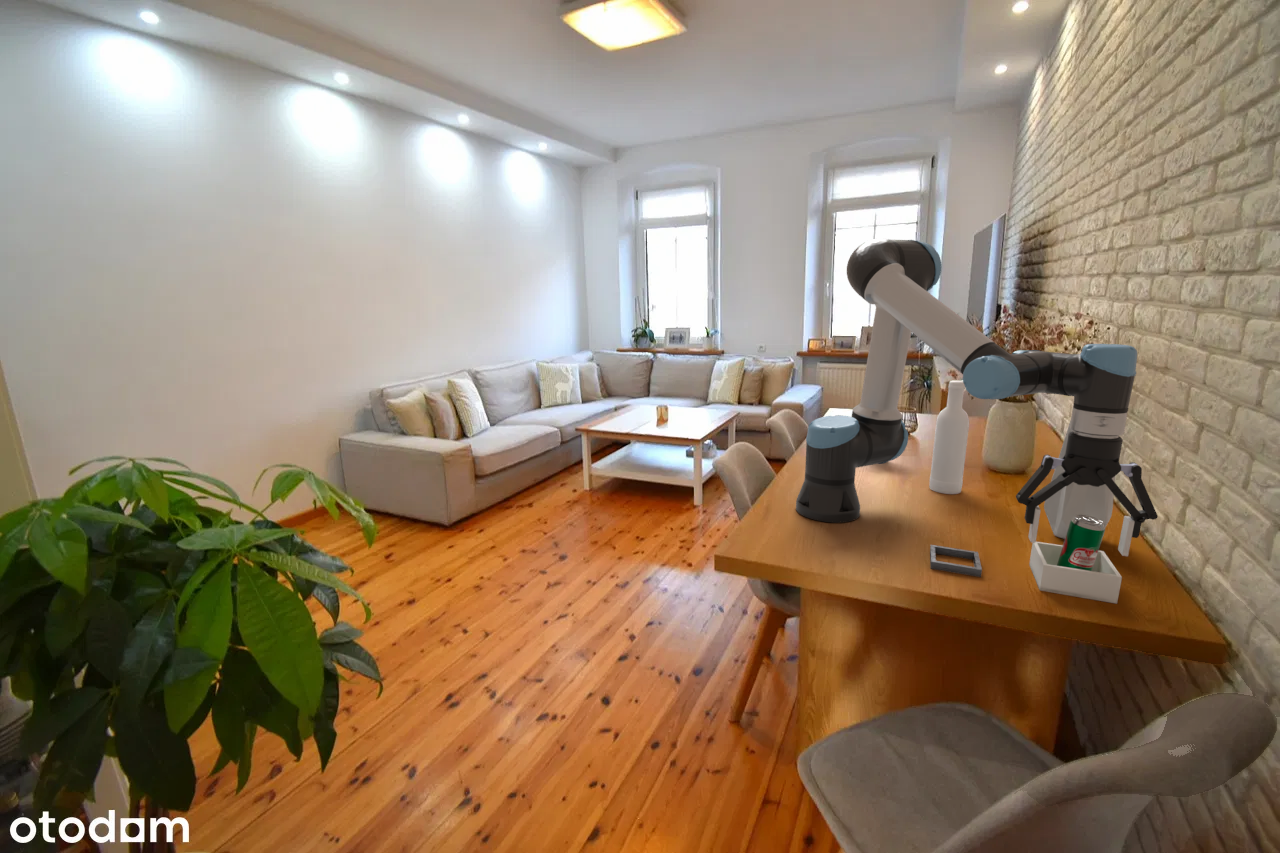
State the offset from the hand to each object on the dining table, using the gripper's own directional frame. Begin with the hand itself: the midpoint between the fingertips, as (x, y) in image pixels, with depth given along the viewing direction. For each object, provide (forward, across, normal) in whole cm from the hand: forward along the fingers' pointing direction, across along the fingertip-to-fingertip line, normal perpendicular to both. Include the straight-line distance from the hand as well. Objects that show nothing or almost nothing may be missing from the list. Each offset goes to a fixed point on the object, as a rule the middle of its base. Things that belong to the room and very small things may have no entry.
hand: (1076, 546), depth 105 cm
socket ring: (+7, -19, 0) cm, 20 cm away
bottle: (+8, -19, +49) cm, 53 cm away
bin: (+7, 0, 0) cm, 7 cm away
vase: (+8, +6, +26) cm, 27 cm away
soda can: (+7, 0, 0) cm, 7 cm away
